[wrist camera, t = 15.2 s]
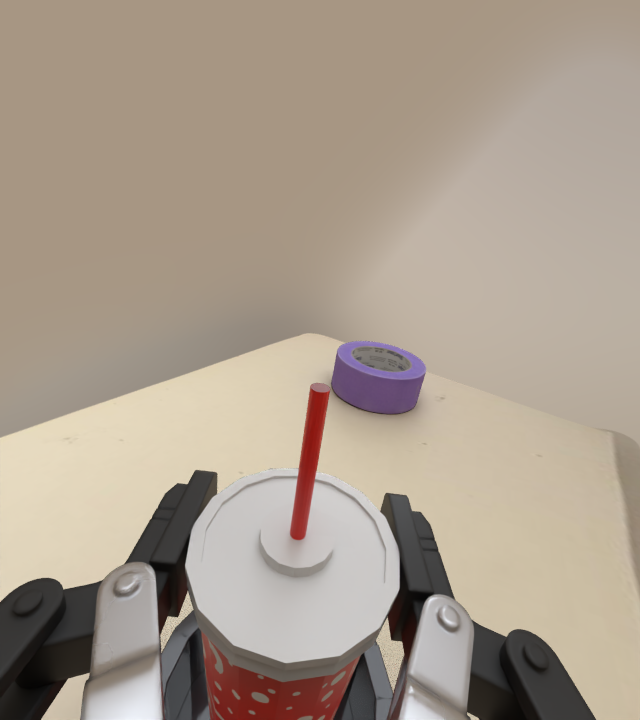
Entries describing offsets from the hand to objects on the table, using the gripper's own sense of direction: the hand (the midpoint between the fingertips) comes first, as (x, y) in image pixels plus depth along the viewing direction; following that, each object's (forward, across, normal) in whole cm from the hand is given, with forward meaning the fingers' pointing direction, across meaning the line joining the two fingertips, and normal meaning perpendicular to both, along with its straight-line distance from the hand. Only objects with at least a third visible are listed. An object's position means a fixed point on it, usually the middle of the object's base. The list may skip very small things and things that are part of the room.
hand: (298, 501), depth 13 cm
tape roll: (+33, -9, +12) cm, 36 cm away
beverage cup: (-2, 0, +8) cm, 9 cm away
